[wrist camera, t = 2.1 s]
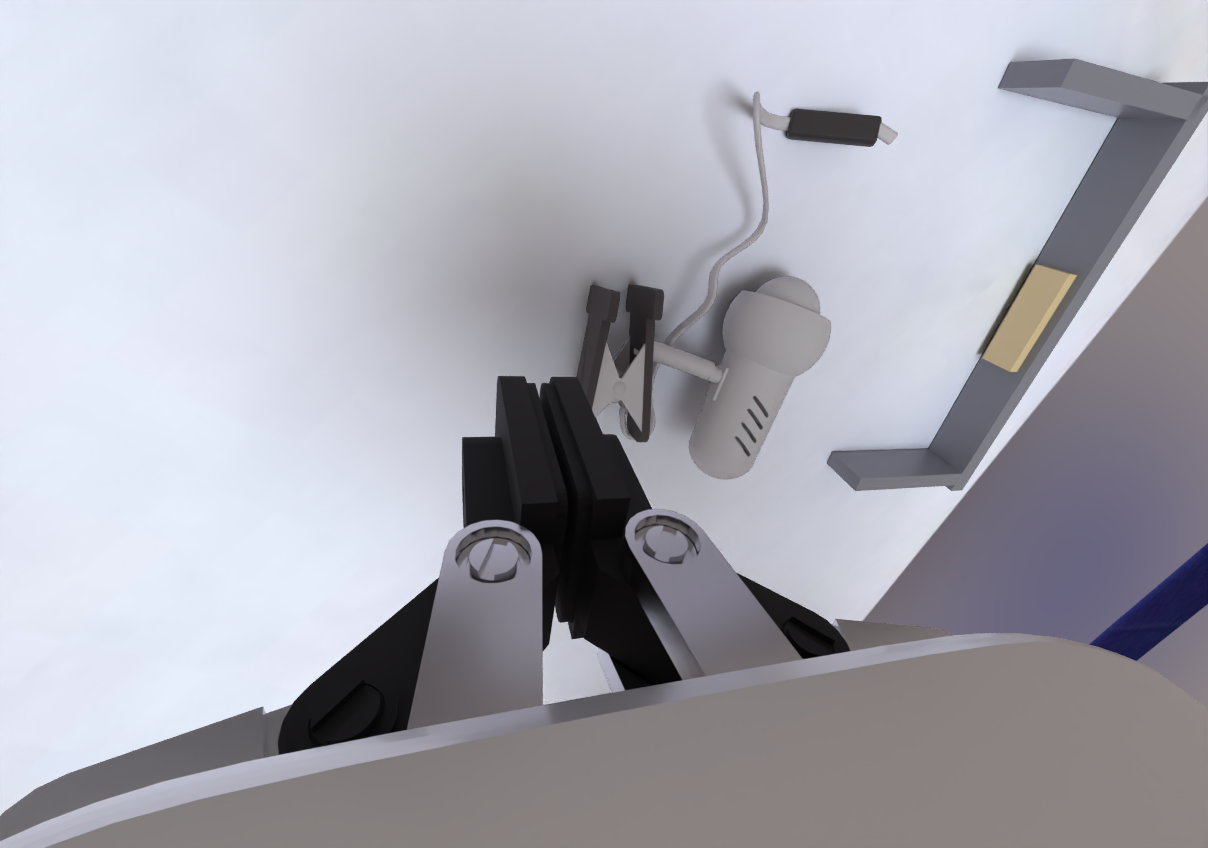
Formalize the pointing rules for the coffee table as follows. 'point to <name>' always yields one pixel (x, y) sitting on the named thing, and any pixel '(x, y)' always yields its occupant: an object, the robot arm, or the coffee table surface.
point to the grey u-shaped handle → (1051, 262)
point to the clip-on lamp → (750, 332)
